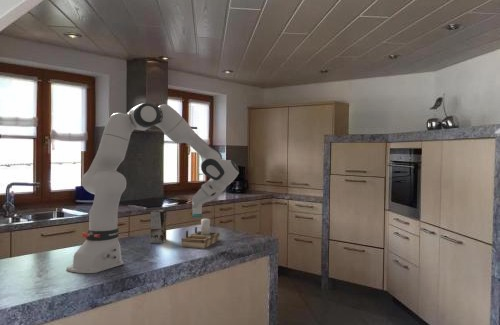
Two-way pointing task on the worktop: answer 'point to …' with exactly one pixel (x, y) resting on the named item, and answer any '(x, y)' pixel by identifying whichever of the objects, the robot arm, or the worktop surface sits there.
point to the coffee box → (158, 226)
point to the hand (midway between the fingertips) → (195, 206)
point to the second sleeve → (205, 226)
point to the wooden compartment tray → (200, 239)
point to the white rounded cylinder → (197, 210)
